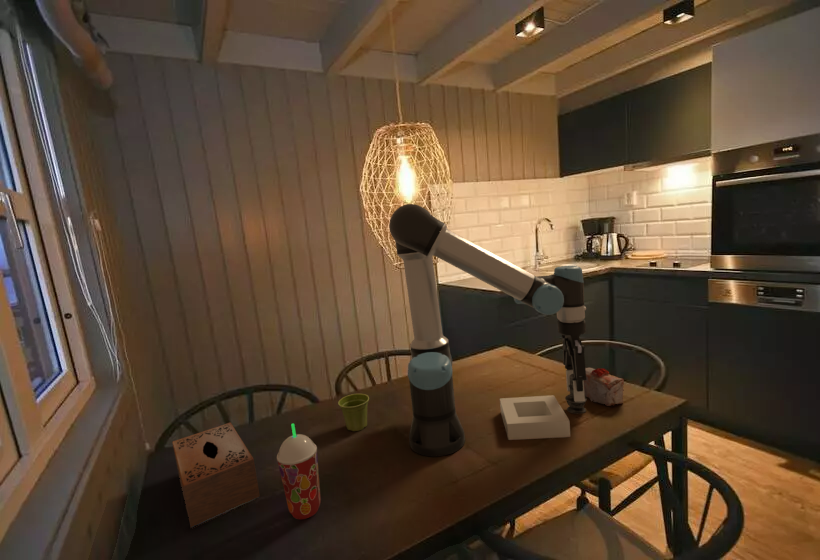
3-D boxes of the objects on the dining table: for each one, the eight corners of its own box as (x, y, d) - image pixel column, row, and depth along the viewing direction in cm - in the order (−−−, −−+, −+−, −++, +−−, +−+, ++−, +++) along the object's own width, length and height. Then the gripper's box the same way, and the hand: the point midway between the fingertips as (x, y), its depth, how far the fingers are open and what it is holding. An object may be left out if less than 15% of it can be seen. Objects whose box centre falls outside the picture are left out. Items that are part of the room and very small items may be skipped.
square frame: (508, 439, 108) (507, 424, 108) (500, 412, 124) (499, 398, 123) (570, 436, 106) (569, 420, 106) (554, 409, 122) (553, 395, 122)
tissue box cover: (260, 498, 95) (253, 459, 94) (191, 529, 87) (183, 486, 86) (236, 455, 116) (230, 422, 115) (178, 476, 108) (172, 441, 107)
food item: (629, 404, 121) (627, 372, 120) (609, 411, 118) (608, 378, 117) (592, 389, 133) (590, 360, 132) (573, 395, 130) (572, 366, 129)
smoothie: (328, 496, 93) (316, 413, 90) (321, 522, 84) (308, 431, 82) (291, 500, 93) (278, 417, 90) (281, 526, 84) (266, 436, 82)
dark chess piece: (583, 404, 123) (581, 366, 122) (590, 413, 117) (587, 374, 116) (563, 406, 124) (561, 368, 122) (569, 415, 118) (566, 375, 116)
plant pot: (375, 430, 121) (371, 402, 120) (343, 437, 119) (339, 409, 118) (369, 417, 130) (366, 391, 129) (340, 423, 128) (336, 397, 127)
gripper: (596, 326, 107) (600, 409, 110) (574, 311, 126) (578, 382, 129) (567, 329, 108) (572, 411, 111) (549, 313, 127) (554, 383, 130)
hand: (575, 395), depth 120 cm, fingers open, 6 cm apart
